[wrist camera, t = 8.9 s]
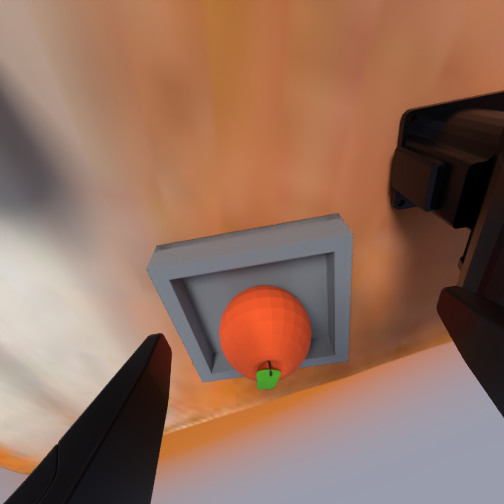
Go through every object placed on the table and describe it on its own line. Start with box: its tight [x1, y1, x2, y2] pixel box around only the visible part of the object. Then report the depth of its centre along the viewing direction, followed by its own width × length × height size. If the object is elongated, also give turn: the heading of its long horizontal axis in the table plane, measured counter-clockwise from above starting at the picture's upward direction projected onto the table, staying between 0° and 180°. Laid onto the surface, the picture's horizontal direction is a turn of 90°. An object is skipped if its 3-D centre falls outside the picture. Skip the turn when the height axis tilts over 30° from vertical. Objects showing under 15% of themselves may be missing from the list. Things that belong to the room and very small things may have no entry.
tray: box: [146, 213, 353, 382], centre depth 23 cm, size 14×14×3 cm
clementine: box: [219, 285, 312, 389], centre depth 21 cm, size 8×7×7 cm
